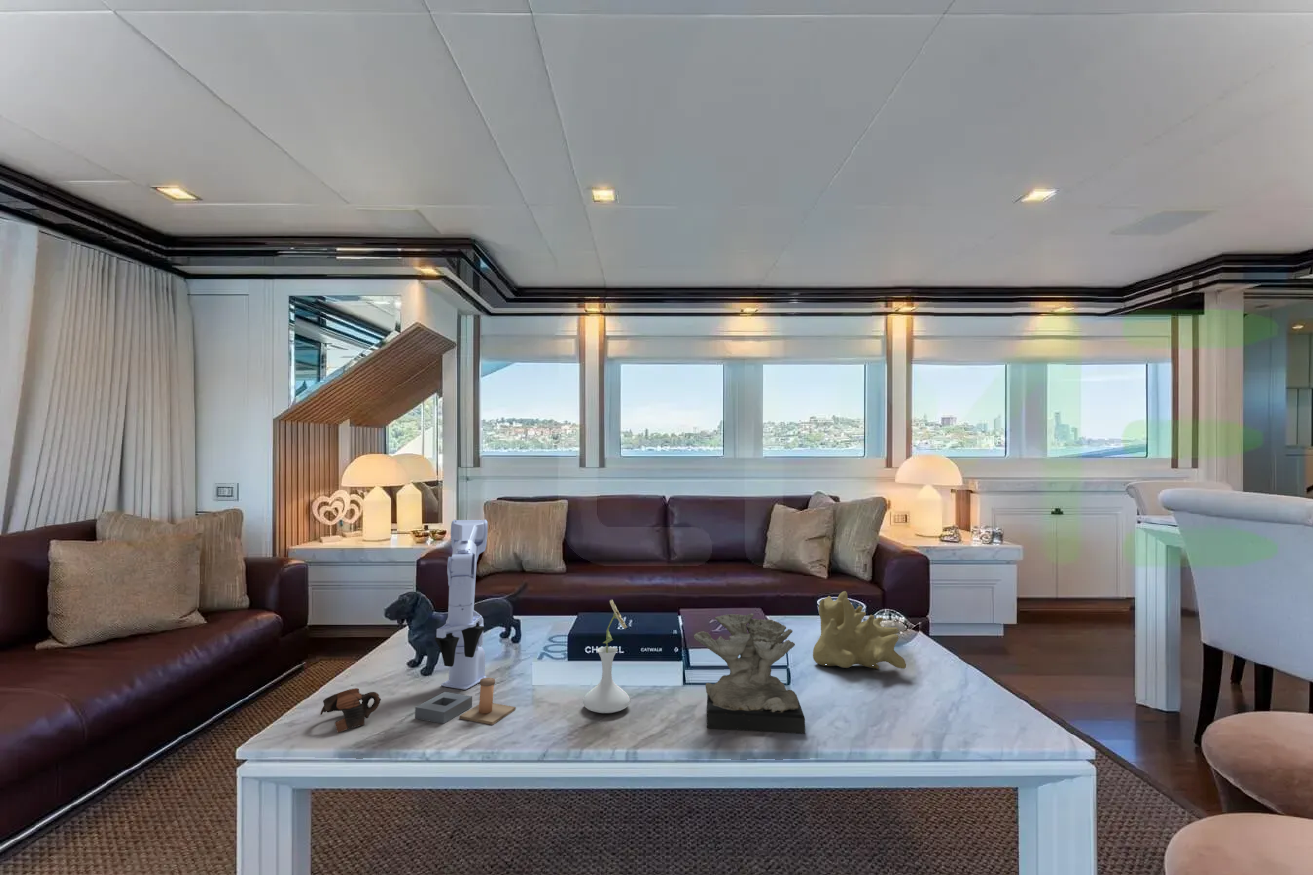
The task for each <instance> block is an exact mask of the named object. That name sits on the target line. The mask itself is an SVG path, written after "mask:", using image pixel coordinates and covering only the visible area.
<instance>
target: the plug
mask: <svg viewBox="0 0 1313 875" xmlns="http://www.w3.org/2000/svg"><path fill="white" fill-rule="evenodd" d="M495 684H496V679H495V678H494V677H487V678H483V679H481V680H480V682H479V686H480V689H479V703H478V705H479V712H480V713H483V714H486V713H490V712H492V705H493V703H494V689H495Z"/></svg>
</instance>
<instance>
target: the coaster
mask: <svg viewBox="0 0 1313 875" xmlns="http://www.w3.org/2000/svg"><path fill="white" fill-rule="evenodd" d="M516 709H517V708H516V706H511V705H507V704H500V703H496V702H495V703H494V702H493V705H492V712H490V713H486V714H483V713H480V712H479V704H477V705H475V706H474V707H471V708H469V709H468V710H466V711H464V712H463V713H461V714H459V717H458V718H459V720H465V721H470V722H476V723H482V724H486V725H495V724H496V723H498V722H499V721H501V720H503V719H504V718H505V717H507V716H508V715H510V714H511V713H513V712H515V711H516Z"/></svg>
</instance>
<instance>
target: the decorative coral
mask: <svg viewBox="0 0 1313 875" xmlns="http://www.w3.org/2000/svg"><path fill="white" fill-rule="evenodd" d="M848 597H849V596H848V593H847V591H846V590H844V591H842V592H840V593H839V595H838V596H837V599H836V600H833V599H832V596H830V595H828V596H827V597H826V598H823V599H821V600H820V601H819V605H818V615H819V618H820V635H819V638H818V639H817V641H816V643H815V644H814V647H813V651H812V658H813V661H814V662H815V663H816V664H817V665H821V666H823V667H835V666H837V667H840V668H843V669H844V668H846V669H848V668H850V667H853V666H854V665H859V666H863V667H865V668H871V669H874V670H878V669H879V668H880V666H879V664H878V663H881V662H884V663H885V662H886V663H888V664H890V665H892V666H893V667H894V668H898V669H901V670H902V669H903V670H905V669H906V668H907V662H906V661H905V658H904V657H902V656H901V655H900V654H898V653H897V652H896V650H895V647H896V644H897V642H898V641H899V638H900V637H899V635H898V633H899V631H900V630H899V628H898V627H885V626H882V625H881V624H880V623H882V622H883V620H884V617H882V616H881V617H880V616H878V617H877V618H875V615H873V614H870V615H869V617H868V618H867V620H863V619H864V617H866V615H867V612H866V611H862V610H863V606H862V605H859V606H857V608H856V609H855V607H854V605H853V604H852V603H851V601H850V600H849V598H848ZM825 664H827V665H825ZM872 665H874V666H872Z"/></svg>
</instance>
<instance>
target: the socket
mask: <svg viewBox="0 0 1313 875" xmlns="http://www.w3.org/2000/svg"><path fill="white" fill-rule="evenodd" d="M472 708H473V696H471V695H466V694H462V693H461V694H460V693H455V692H448V691H444V692H442V693H440V694H438V695H435V696H434V697H432V698H430V699H428V700H426V701H424V702H422V703H420V704H418V705H417V706H415V707H414V719H417V720H421V721H428V722H432V723H438V724H446V723H448V722H449V721H451V720H453V719H454V718H456V717H458V716H460V715H462V714H464V713H465V712H467V711H469V710H470V709H472Z"/></svg>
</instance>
